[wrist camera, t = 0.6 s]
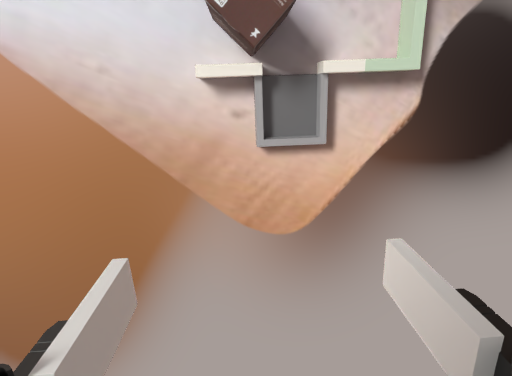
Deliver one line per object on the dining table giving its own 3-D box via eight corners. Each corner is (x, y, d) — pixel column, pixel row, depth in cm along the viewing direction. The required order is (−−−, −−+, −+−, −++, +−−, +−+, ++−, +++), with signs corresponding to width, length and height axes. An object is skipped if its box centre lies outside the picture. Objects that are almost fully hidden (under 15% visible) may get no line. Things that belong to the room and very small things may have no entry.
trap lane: (180, -147, 30) (174, -172, 27) (427, -149, 31) (446, -173, 28) (205, 146, 38) (202, 150, 35) (399, 137, 39) (411, 141, 36)
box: (288, 15, 35) (301, -5, 28) (251, 58, 36) (254, 50, 29) (247, -30, 33) (249, -62, 26) (210, 17, 34) (202, -2, 27)
